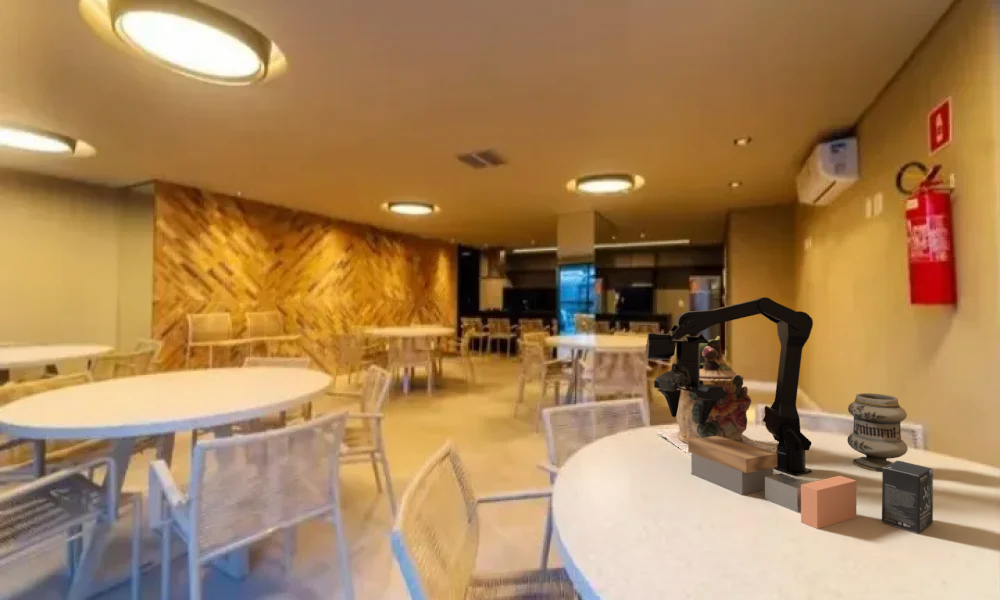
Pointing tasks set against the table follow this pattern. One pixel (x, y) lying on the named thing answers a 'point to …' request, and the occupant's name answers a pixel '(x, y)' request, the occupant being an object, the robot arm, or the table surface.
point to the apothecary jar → (876, 430)
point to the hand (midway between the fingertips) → (687, 420)
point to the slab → (733, 453)
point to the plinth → (729, 476)
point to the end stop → (828, 501)
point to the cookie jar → (725, 413)
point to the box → (907, 496)
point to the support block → (784, 491)
